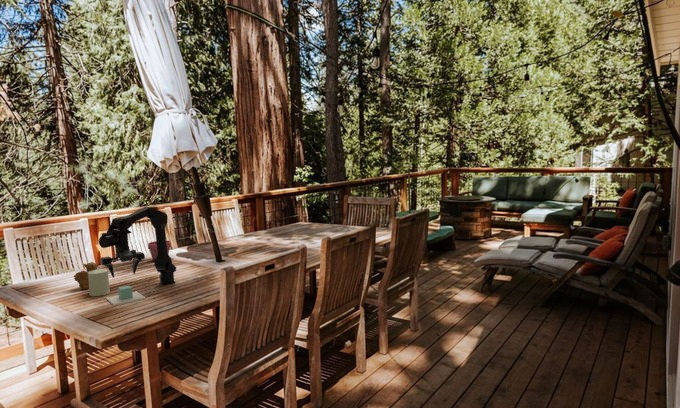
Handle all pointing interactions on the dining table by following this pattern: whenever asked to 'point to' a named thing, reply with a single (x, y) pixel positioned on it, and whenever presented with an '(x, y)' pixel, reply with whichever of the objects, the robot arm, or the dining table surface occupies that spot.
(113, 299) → the plate
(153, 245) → the plant pot
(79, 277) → the stuffed squirrel
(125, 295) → the cube
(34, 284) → the dining table surface
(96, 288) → the can
